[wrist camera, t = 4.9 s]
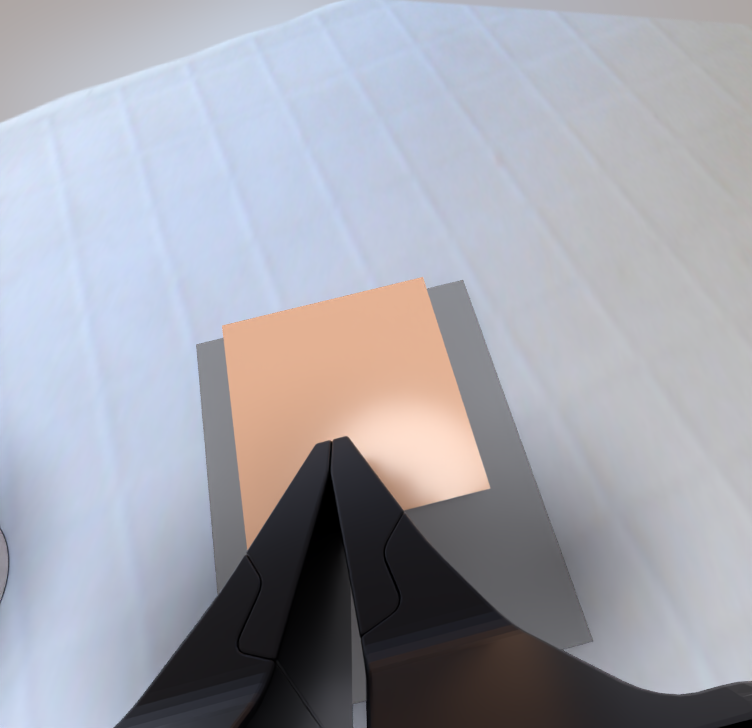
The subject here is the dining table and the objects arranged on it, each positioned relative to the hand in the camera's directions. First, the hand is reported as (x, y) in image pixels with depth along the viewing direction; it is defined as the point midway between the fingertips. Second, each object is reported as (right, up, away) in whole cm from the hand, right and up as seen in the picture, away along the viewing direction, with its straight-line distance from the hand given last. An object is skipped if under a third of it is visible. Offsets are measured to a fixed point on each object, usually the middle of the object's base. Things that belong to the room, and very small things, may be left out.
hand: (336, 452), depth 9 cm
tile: (+1, -4, +5) cm, 6 cm away
